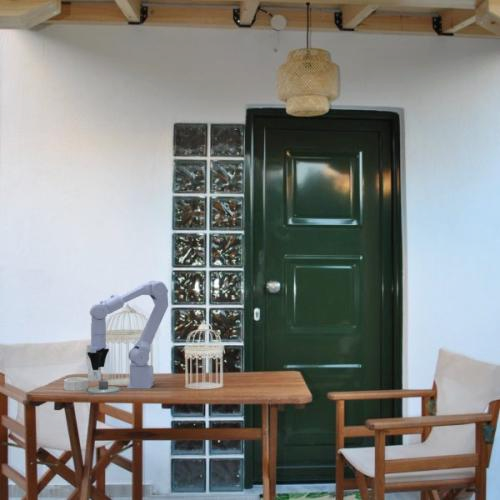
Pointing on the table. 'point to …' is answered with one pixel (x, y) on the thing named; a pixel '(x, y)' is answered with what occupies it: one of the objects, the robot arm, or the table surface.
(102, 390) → the lid
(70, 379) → the bowl
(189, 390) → the table surface
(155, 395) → the table surface
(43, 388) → the table surface
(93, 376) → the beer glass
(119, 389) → the mat
